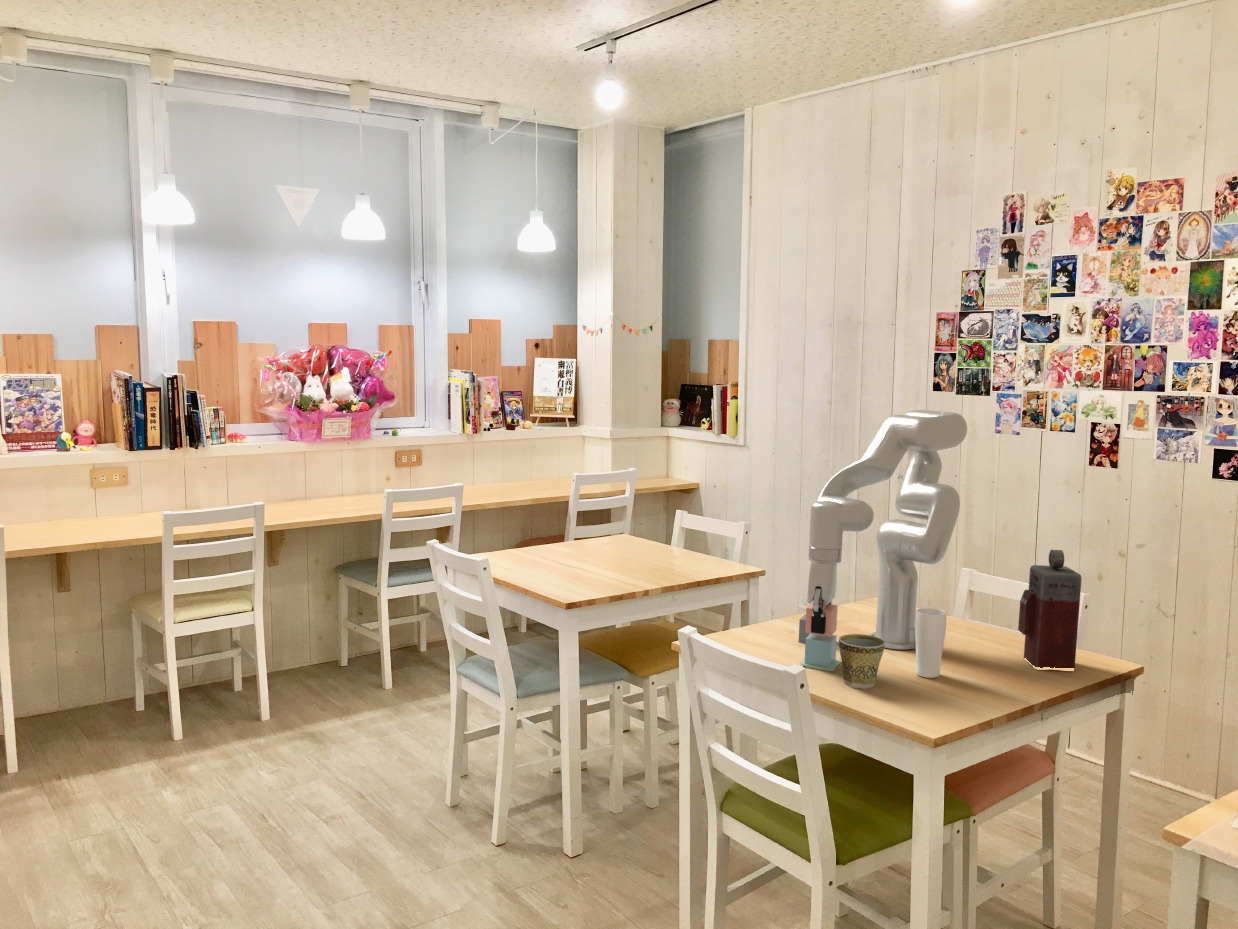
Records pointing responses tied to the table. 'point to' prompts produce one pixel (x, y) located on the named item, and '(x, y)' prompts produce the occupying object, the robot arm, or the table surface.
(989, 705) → the table surface
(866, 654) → the ceramic cup
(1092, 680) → the table surface
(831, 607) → the coral brick
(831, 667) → the green baseplate
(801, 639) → the charcoal brick
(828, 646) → the teal base brick
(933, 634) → the drinking glass
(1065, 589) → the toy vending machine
